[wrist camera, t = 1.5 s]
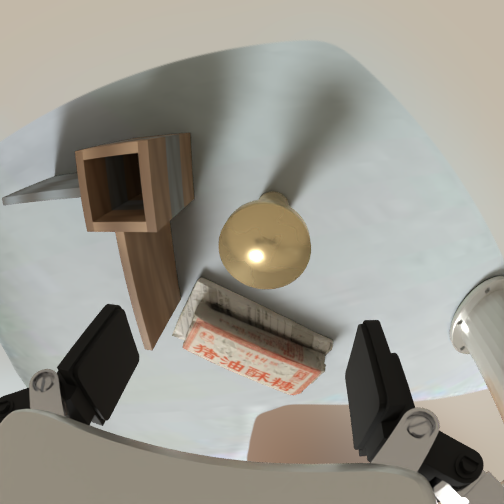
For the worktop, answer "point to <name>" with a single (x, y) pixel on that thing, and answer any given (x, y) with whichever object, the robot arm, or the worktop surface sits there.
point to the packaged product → (251, 339)
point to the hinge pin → (265, 243)
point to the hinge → (132, 214)
